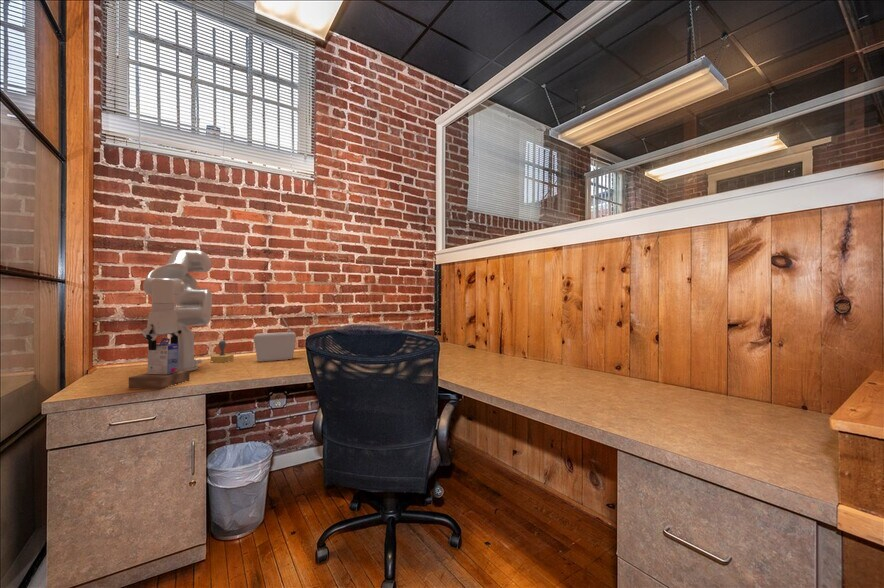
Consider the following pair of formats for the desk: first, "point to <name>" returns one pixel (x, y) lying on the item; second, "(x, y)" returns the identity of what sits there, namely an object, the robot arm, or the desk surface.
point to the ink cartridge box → (163, 358)
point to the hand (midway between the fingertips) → (163, 348)
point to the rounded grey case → (275, 345)
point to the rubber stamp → (222, 354)
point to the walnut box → (158, 380)
